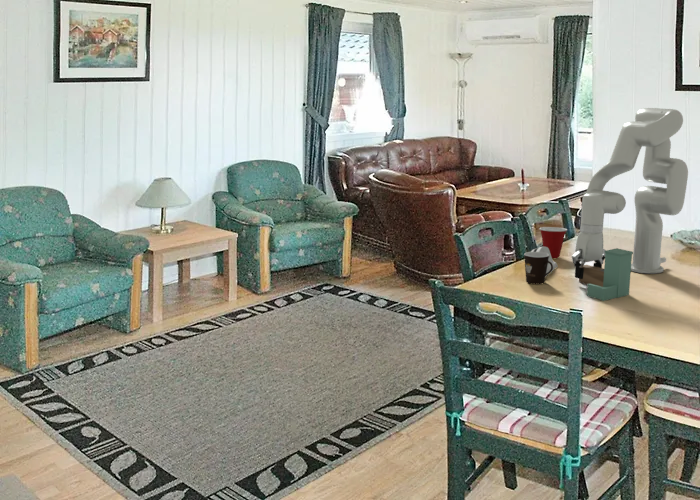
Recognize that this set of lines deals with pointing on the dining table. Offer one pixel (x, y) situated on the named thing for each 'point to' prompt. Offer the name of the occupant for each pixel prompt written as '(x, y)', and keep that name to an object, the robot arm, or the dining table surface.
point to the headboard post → (613, 276)
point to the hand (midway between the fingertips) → (588, 276)
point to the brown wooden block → (593, 275)
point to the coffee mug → (536, 267)
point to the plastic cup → (553, 239)
